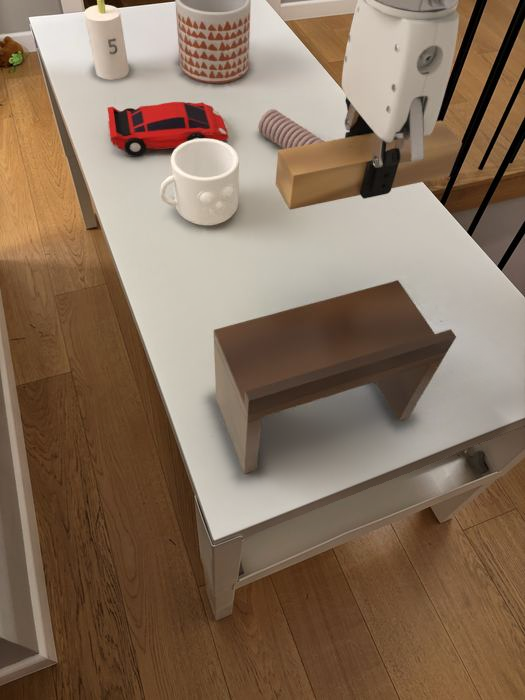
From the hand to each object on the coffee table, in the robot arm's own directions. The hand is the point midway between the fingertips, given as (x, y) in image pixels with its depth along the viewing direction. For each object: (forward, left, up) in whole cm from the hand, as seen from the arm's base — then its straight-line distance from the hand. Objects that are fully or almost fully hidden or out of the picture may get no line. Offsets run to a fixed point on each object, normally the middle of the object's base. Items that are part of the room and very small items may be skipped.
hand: (364, 178), depth 55 cm
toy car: (+45, -11, -22) cm, 51 cm away
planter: (+56, -34, -22) cm, 69 cm away
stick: (0, 0, 0) cm, 0 cm away
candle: (+68, -18, -22) cm, 74 cm away
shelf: (-7, +13, -22) cm, 27 cm away
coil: (+25, -24, -22) cm, 41 cm away
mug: (+27, -2, -22) cm, 35 cm away
